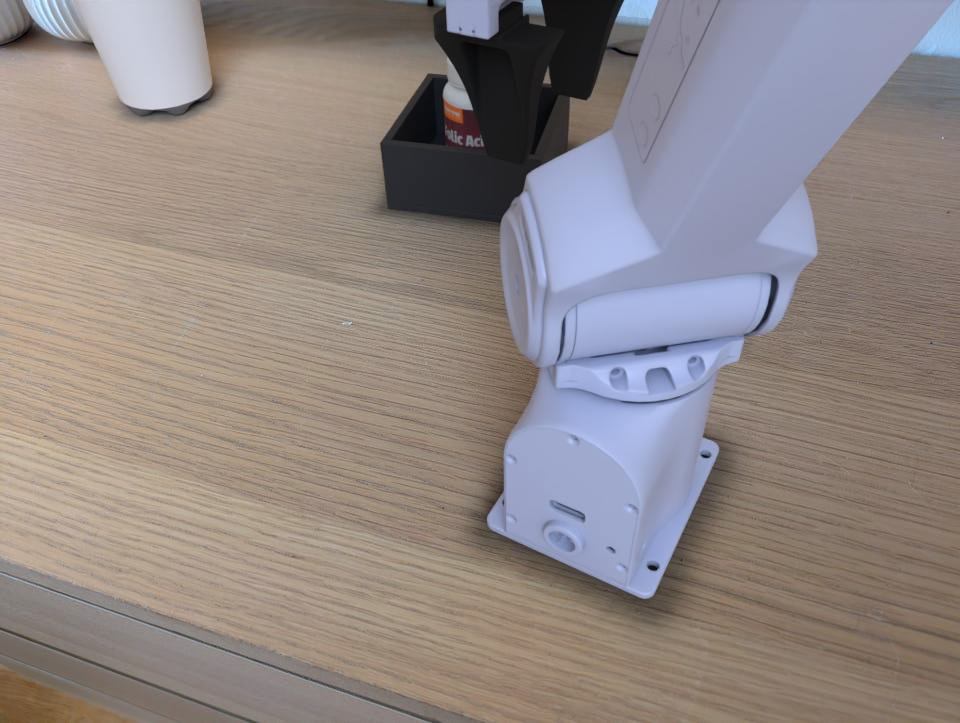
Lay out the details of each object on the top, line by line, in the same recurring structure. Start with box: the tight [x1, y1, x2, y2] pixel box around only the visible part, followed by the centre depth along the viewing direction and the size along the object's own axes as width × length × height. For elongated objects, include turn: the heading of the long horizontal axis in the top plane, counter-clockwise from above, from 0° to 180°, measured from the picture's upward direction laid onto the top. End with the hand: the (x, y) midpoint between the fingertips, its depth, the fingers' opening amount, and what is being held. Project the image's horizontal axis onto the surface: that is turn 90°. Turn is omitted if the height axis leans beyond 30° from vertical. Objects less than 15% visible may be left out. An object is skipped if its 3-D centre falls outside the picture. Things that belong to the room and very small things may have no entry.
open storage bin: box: [379, 72, 571, 223], centre depth 58 cm, size 11×11×5 cm
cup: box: [73, 0, 213, 117], centre depth 65 cm, size 10×10×13 cm
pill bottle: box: [443, 55, 485, 150], centre depth 56 cm, size 5×5×8 cm
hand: (541, 124), depth 43 cm, fingers open, 7 cm apart
